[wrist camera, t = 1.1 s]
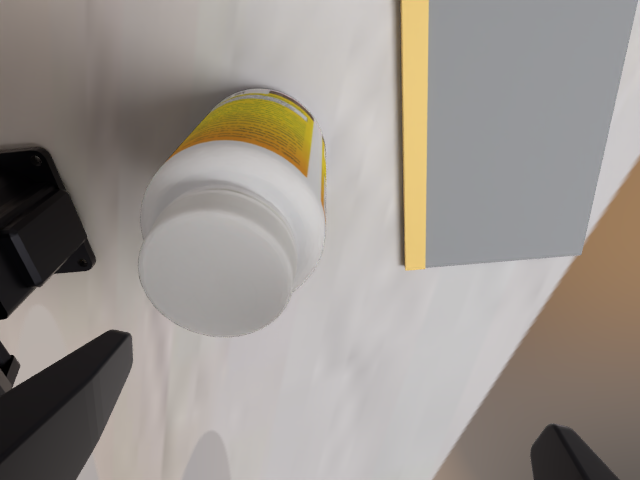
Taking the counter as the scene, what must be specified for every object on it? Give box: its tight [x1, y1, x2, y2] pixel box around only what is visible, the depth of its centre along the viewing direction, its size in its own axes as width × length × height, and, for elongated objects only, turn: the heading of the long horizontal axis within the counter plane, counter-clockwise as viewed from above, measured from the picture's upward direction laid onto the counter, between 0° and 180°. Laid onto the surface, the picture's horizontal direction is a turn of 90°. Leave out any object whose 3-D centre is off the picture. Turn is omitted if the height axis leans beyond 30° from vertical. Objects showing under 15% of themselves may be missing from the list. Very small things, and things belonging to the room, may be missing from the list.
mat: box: [400, 0, 638, 270], centre depth 19 cm, size 9×15×1 cm, turn 6°
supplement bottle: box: [138, 88, 326, 337], centre depth 15 cm, size 6×6×10 cm
